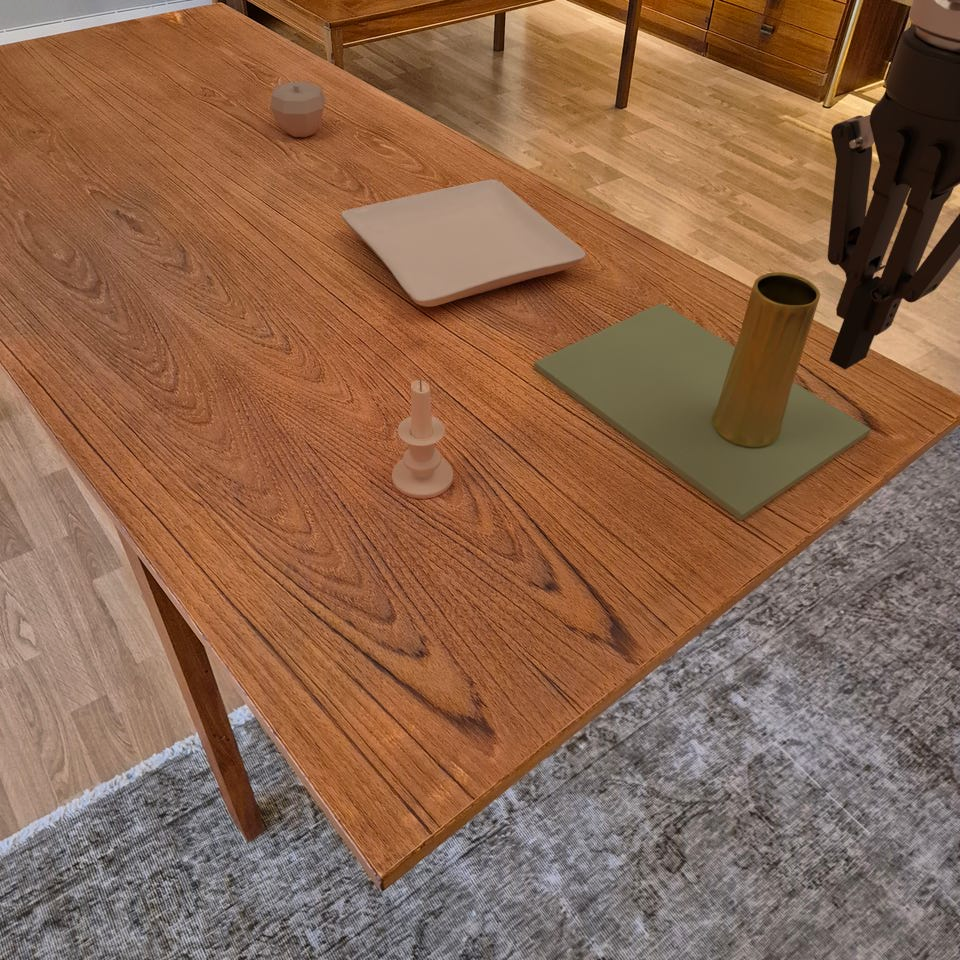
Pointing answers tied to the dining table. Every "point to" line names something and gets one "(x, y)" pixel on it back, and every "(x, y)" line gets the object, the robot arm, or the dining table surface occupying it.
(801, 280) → the fluted gold cylinder
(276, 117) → the apple
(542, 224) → the plate
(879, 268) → the robot arm
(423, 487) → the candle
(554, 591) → the dining table surface
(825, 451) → the mat
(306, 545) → the dining table surface
